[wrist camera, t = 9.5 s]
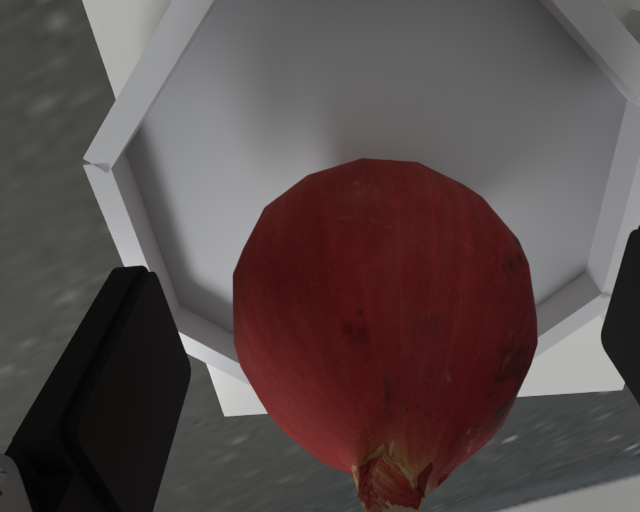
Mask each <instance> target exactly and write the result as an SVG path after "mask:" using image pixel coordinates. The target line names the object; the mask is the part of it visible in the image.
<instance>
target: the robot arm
mask: <svg viewBox="0 0 640 512" xmlns="http://www.w3.org/2000/svg"><path fill="white" fill-rule="evenodd" d="M601 343H602V346H603V349H604V350H605V352H606V354H607V355H608V357H609V358H610V360H611V361H612V363H613V365H614V366H615V368H616V369H617V371H618V372H619V374H620V375H621V377H622V378H623V380H624V382H625V383H626V385H627V386H628V388H629V389H630V391H631V392H632V394H633V396H634V397H635V399H636V400H637V402H638V403H639V405H640V225H639V227H638V229H635V230H633V231H632V232H631V233H630V234H629V237H628V240H627V244H626V247H625V250H624V254H623V257H622V261H621V264H620V268H619V271H618V275H617V278H616V282H615V285H614V288H613V292H612V295H611V299H610V302H609V306H608V309H607V313H606V316H605V320H604V323H603V326H602V330H601ZM190 377H191V367H190V362H189V359H188V357H187V354H186V351H185V348H184V346H183V343H182V340H181V338H180V335H179V332H178V329H177V327H176V324H175V321H174V319H173V316H172V313H171V310H170V308H169V305H168V302H167V300H166V297H165V294H164V291H163V289H162V286H161V283H160V281H159V278H158V276H157V274H156V273H155V272H153V271H152V272H149V271H148V269H147V268H146V267H145V266H143V265H140V266H128V267H117V268H114V269H113V270H112V271H111V273H110V275H109V276H108V278H107V280H106V281H105V283H104V285H103V287H102V288H101V290H100V292H99V293H98V295H97V297H96V298H95V300H94V302H93V303H92V305H91V307H90V309H89V310H88V312H87V314H86V315H85V317H84V319H83V320H82V322H81V324H80V325H79V327H78V329H77V331H76V332H75V334H74V336H73V337H72V339H71V341H70V342H69V344H68V346H67V347H66V349H65V351H64V353H63V354H62V356H61V358H60V359H59V361H58V363H57V364H56V366H55V368H54V369H53V371H52V373H51V375H50V376H49V378H48V380H47V381H46V383H45V385H44V386H43V388H42V390H41V391H40V393H39V395H38V397H37V398H36V400H35V402H34V403H33V405H32V407H31V408H30V410H29V412H28V413H27V415H26V417H25V418H24V420H23V422H22V424H21V425H20V427H19V429H18V430H17V432H16V434H15V435H14V437H13V439H12V442H11V444H10V446H9V447H8V449H7V451H6V452H5V454H0V512H153V508H154V505H155V501H156V498H157V494H158V491H159V487H160V484H161V480H162V477H163V473H164V470H165V466H166V463H167V459H168V456H169V452H170V449H171V445H172V442H173V438H174V435H175V431H176V428H177V424H178V421H179V417H180V413H181V410H182V406H183V403H184V399H185V396H186V392H187V389H188V385H189V382H190Z"/></svg>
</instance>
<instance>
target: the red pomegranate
mask: <svg viewBox="0 0 640 512" xmlns="http://www.w3.org/2000/svg"><path fill="white" fill-rule="evenodd" d="M233 331H234V345H235V349H236V352H237V356H238V360H239V363H240V367H241V369H242V370H243V372H244V374H245V376H246V377H247V379H248V381H249V383H250V384H251V386H252V388H253V390H254V391H255V393H256V395H257V397H258V398H259V400H260V402H261V403H262V405H263V406H264V408H265V410H266V411H267V413H268V414H269V416H270V417H271V418H272V419H273V420H274V421H275V423H276V424H277V425H278V426H279V427H280V428H281V429H282V430H283V431H284V432H285V433H286V434H288V435H289V436H290V437H291V438H293V439H294V440H295V441H296V442H297V443H299V444H300V445H301V446H302V447H303V448H305V449H306V450H307V451H308V452H309V453H311V454H312V455H313V456H314V457H315V458H317V459H318V460H319V461H320V462H322V463H324V464H327V465H329V466H332V467H334V468H336V469H339V470H342V471H344V472H347V473H349V474H352V475H353V476H354V480H355V484H356V487H357V490H358V497H359V499H360V501H361V504H362V506H363V508H364V510H365V512H419V511H420V509H421V507H422V505H423V503H424V501H425V499H426V496H427V495H428V494H430V493H431V492H432V491H433V490H434V489H435V488H436V487H438V486H439V485H440V484H441V483H442V482H443V481H444V480H445V479H447V478H448V476H449V475H450V474H451V472H452V471H453V470H455V469H456V468H457V467H458V466H460V465H461V464H462V463H463V462H465V461H466V460H467V459H468V458H470V457H471V456H472V455H473V454H475V453H476V452H477V451H478V450H479V449H480V448H481V447H483V446H484V445H485V444H486V443H487V442H488V441H490V439H491V438H492V437H493V436H494V435H495V434H496V432H497V431H498V430H499V429H500V428H501V427H502V425H503V423H504V421H505V419H506V418H507V416H508V414H509V412H510V410H511V408H512V406H513V404H514V401H515V399H516V397H517V395H518V393H519V391H520V388H521V386H522V384H523V382H524V380H525V378H526V375H527V373H528V371H529V369H530V367H531V364H532V361H533V357H534V354H535V351H536V348H537V344H538V331H537V314H536V307H535V301H534V294H533V287H532V280H531V274H530V267H529V263H528V260H527V258H526V256H525V253H524V251H523V249H522V246H521V244H520V242H519V239H518V238H517V237H516V236H515V235H514V233H513V232H512V231H511V230H510V229H509V228H508V226H507V225H506V224H505V223H504V222H503V221H502V219H501V218H500V217H499V216H498V215H497V214H496V212H495V211H494V210H493V209H492V208H491V207H490V205H489V204H488V203H487V202H486V201H485V199H484V198H483V197H482V196H480V195H479V194H477V193H476V192H474V191H473V190H471V189H470V188H468V187H467V186H465V185H464V184H462V183H460V182H458V181H456V180H454V179H451V178H449V177H447V176H445V175H443V174H441V173H439V172H437V171H435V170H433V169H431V168H429V167H427V166H425V165H423V164H421V163H419V162H411V161H397V160H382V159H368V158H361V159H358V160H355V161H351V162H348V163H345V164H342V165H338V166H335V167H332V168H329V169H325V170H322V171H319V172H316V173H312V174H309V175H307V176H306V177H304V178H303V179H302V180H300V181H299V182H298V183H296V184H295V185H294V186H292V187H291V188H290V189H288V190H287V191H286V192H284V193H283V194H282V195H280V196H279V197H278V198H276V199H275V200H274V201H272V202H271V203H270V204H268V205H267V206H266V207H264V209H263V211H262V213H261V215H260V217H259V219H258V221H257V223H256V225H255V227H254V229H253V231H252V233H251V234H250V236H249V238H248V240H247V242H246V244H245V246H244V248H243V250H242V253H241V255H240V258H239V260H238V263H237V265H236V267H235V270H234V272H233Z"/></svg>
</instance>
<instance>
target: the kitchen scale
mask: <svg viewBox="0 0 640 512" xmlns="http://www.w3.org/2000/svg"><path fill="white" fill-rule="evenodd" d="M82 1H83V4H84V7H85V10H86V13H87V16H88V19H89V22H90V25H91V27H92V30H93V33H94V36H95V39H96V42H97V45H98V48H99V51H100V54H101V57H102V60H103V63H104V65H105V68H106V71H107V74H108V77H109V80H110V83H111V86H112V89H113V92H114V95H115V98H116V101H115V103H114V105H113V106H112V108H111V110H110V112H109V113H108V115H107V117H106V119H105V121H104V122H103V124H102V126H101V128H100V129H99V131H98V133H97V135H96V136H95V138H94V140H93V142H92V143H91V145H90V147H89V149H88V150H87V152H86V154H85V156H84V158H83V159H85V160H86V162H85V163H84V165H83V167H84V169H85V172H86V174H87V176H88V179H89V181H90V184H91V186H92V189H93V191H94V193H95V196H96V198H97V201H98V203H99V206H100V208H101V210H102V213H103V215H104V218H105V220H106V223H107V225H108V227H109V230H110V232H111V235H112V237H113V240H114V242H115V245H116V247H117V249H118V252H119V254H120V257H121V259H122V262H123V264H124V266H125V267H128V266H140V265H143V266H145V267H146V268H147V269H148V271H149V272H152V271H153V272H155V273H156V274H157V276H158V278H159V281H160V283H161V286H162V289H163V291H164V294H165V297H166V300H167V302H168V305H169V308H170V310H171V313H172V316H173V319H174V321H175V324H176V327H177V329H178V332H179V335H180V338H181V340H182V343H183V346H184V348H185V351H186V353H188V354H190V355H192V356H193V357H195V358H197V359H199V360H201V361H203V362H205V363H206V364H207V367H208V370H209V372H210V375H211V378H212V381H213V384H214V387H215V390H216V393H217V396H218V399H219V402H220V405H221V408H222V410H223V413H224V416H237V415H252V414H267V411H266V410H265V408H264V406H263V405H262V403H261V402H260V400H259V398H258V397H257V395H256V393H255V391H254V390H253V388H252V386H251V384H250V383H249V381H248V379H247V377H246V376H245V374H244V372H243V370H242V369H241V367H240V363H239V360H238V356H237V352H236V349H235V345H234V331H233V272H234V270H235V267H236V265H237V263H238V260H239V258H240V255H241V253H242V250H243V248H244V246H245V244H246V242H247V240H248V238H249V236H250V234H251V233H252V231H253V229H254V227H255V225H256V223H257V221H258V219H259V217H260V215H261V213H262V211H263V209H264V207H266V206H267V205H268V204H270V203H271V202H272V201H274V200H275V199H276V198H278V197H279V196H280V195H282V194H283V193H284V192H286V191H287V190H288V189H290V188H291V187H292V186H294V185H295V184H296V183H298V182H299V181H300V180H302V179H303V178H304V177H306V176H307V175H309V174H312V173H316V172H319V171H322V170H325V169H329V168H332V167H335V166H338V165H342V164H345V163H348V162H351V161H355V160H358V159H361V158H368V159H382V160H397V161H411V162H419V163H421V164H423V165H425V166H427V167H429V168H431V169H433V170H435V171H437V172H439V173H441V174H443V175H445V176H447V177H449V178H451V179H454V180H456V181H458V182H460V183H462V184H464V185H465V186H467V187H468V188H470V189H471V190H473V191H474V192H476V193H477V194H479V195H480V196H482V197H483V198H484V199H485V201H486V202H487V203H488V204H489V205H490V207H491V208H492V209H493V210H494V211H495V212H496V214H497V215H498V216H499V217H500V218H501V219H502V221H503V222H504V223H505V224H506V225H507V226H508V228H509V229H510V230H511V231H512V232H513V233H514V235H515V236H516V237H517V238H518V239H519V242H520V244H521V246H522V249H523V251H524V253H525V256H526V258H527V260H528V263H529V267H530V274H531V280H532V287H533V294H534V301H535V307H536V314H537V331H538V344H537V348H536V351H535V354H534V357H533V361H532V364H531V367H530V369H529V371H528V373H527V375H526V378H525V380H524V382H523V384H522V386H521V388H520V391H519V393H518V395H517V397H522V396H537V395H552V394H567V393H582V392H597V391H612V390H623V387H624V384H625V382H624V380H623V378H622V377H621V375H620V374H619V372H618V371H617V369H616V368H615V366H614V365H613V363H612V361H611V360H610V358H609V357H608V355H607V354H606V352H605V350H604V349H603V346H602V343H601V330H602V326H603V323H604V320H605V316H606V313H607V309H608V306H609V302H610V299H611V295H612V292H613V288H614V285H615V282H616V278H617V275H618V271H619V268H620V264H621V261H622V257H623V254H624V250H625V247H626V244H627V240H628V237H629V234H630V233H631V232H632V231H633V230H635V229H638V227H639V225H640V0H82Z"/></svg>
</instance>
